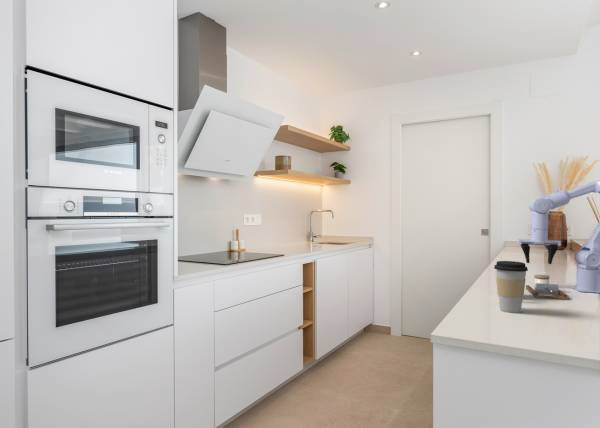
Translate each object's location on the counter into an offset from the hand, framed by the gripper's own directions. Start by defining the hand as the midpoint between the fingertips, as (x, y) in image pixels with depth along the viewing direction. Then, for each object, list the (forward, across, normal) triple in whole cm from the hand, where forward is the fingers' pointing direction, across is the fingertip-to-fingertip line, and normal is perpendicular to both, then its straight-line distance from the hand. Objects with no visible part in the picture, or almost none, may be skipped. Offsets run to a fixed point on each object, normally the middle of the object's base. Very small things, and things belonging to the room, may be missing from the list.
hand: (538, 263), depth 160 cm
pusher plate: (+10, 0, +16) cm, 19 cm away
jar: (+10, 0, +6) cm, 12 cm away
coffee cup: (+10, +17, +41) cm, 46 cm away
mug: (+10, +14, +23) cm, 29 cm away
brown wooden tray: (+10, 0, +10) cm, 14 cm away
